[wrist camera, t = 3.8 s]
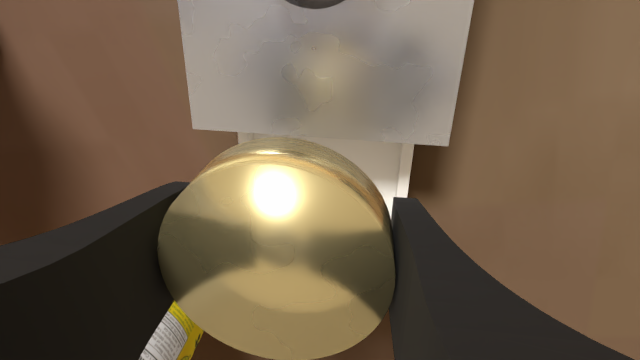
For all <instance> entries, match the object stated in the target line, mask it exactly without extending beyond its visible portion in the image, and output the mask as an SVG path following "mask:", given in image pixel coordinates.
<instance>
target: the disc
mask: <svg viewBox="0 0 640 360" xmlns="http://www.w3.org/2000/svg"><path fill="white" fill-rule="evenodd" d="M157 252H158V260H159V266H160V270H161V273H162V277H163V279H164V282H165V284H166V286H167V288H168V290H169V292H170V294H171V295H172V297H173V299H174V300H175V302H176V303H177V304H178V306H179V307H180V308H181V310H182V311H183V312H184V313H185V314H186V315H187V316H188V317H189V318H190V319H191V320H192V321H193V322H194V323H195V324H196V325H198V326H199V327H200V328H201V329H202V330H204V331H205V332H207V333H208V334H210V335H211V336H212V337H214V338H216V339H217V340H219V341H221V342H223V343H224V344H227V345H229V346H231V347H233V348H235V349H238V350H240V351H243V352H246V353H249V354H252V355H256V356H260V357H264V358H270V359H276V360H311V359H318V358H322V357H327V356H331V355H334V354H336V353H339V352H342V351H344V350H346V349H348V348H350V347H352V346H354V345H356V344H357V343H359V342H360V341H362V340H363V339H365V338H366V337H367V336H368V335H369V334H370V333H371V332H372V331H374V329H375V328H376V327H377V326H378V325H379V323H380V322H381V321H382V319H383V318H384V316H385V314H386V312H387V311H388V308H389V306H390V303H391V301H392V297H393V293H394V288H395V261H394V244H393V230H392V222H391V218H390V214H389V211H388V207H387V205H386V203H385V201H384V199H383V196H382V195H381V193H380V192H379V190H378V189H377V187H376V185H375V184H374V183H373V182H372V180H371V179H370V178H369V177H368V176H367V175H366V173H364V172H363V171H362V170H361V169H360V168H359V167H358V166H357V165H356V164H354V163H353V162H352V161H350V160H349V159H347V158H346V157H344V156H343V155H341V154H339V153H337V152H336V151H334V150H332V149H330V148H328V147H325V146H322V145H320V144H317V143H314V142H310V141H306V140H302V139H296V138H288V137H268V138H260V139H254V140H250V141H247V142H243V143H240V144H238V145H236V146H233V147H231V148H229V149H227V150H226V151H224V152H222V153H221V154H219V155H218V156H217V157H215V158H214V159H213V160H212V161H211V162H210V163H208V164H207V166H206V167H205V168H204V169H203V170H202V171H201V172H200V173H199V174H198V175H197V176H196V177H195V178H194V180H193V181H192V182H191V183H190V184H189V185H188V186H187V187H186V188H185V189H184V190H183V191H182V192H181V194H180V195H179V196H178V197H177V198H176V199H175V201H174V202H173V203H172V204H171V206H170V207H169V209H168V211H167V212H166V214H165V216H164V219H163V221H162V224H161V227H160V231H159V236H158V250H157Z"/></svg>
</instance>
